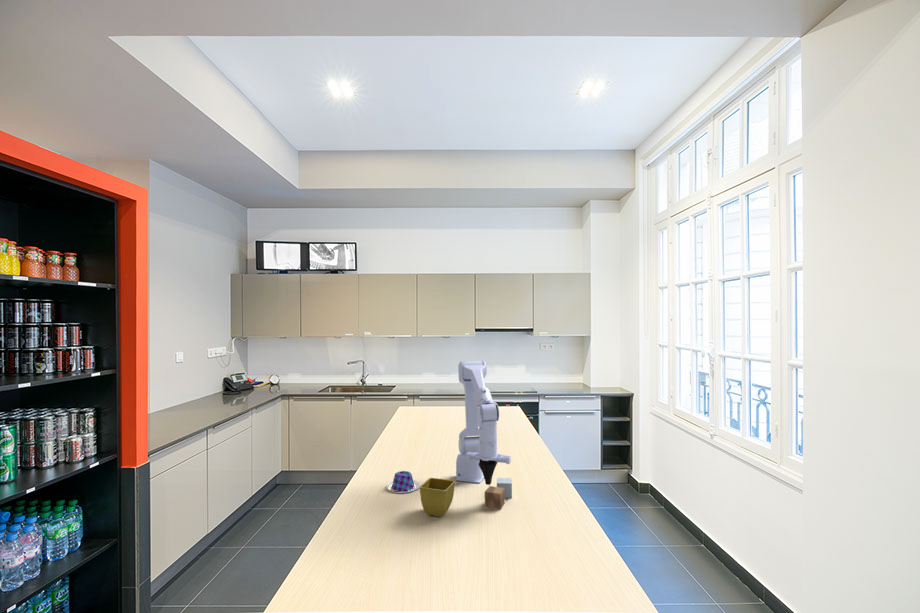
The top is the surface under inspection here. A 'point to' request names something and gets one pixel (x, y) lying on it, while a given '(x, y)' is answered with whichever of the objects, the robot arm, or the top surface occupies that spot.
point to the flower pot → (437, 496)
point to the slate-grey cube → (505, 486)
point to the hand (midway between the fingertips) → (488, 483)
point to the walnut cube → (494, 497)
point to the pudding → (403, 482)
